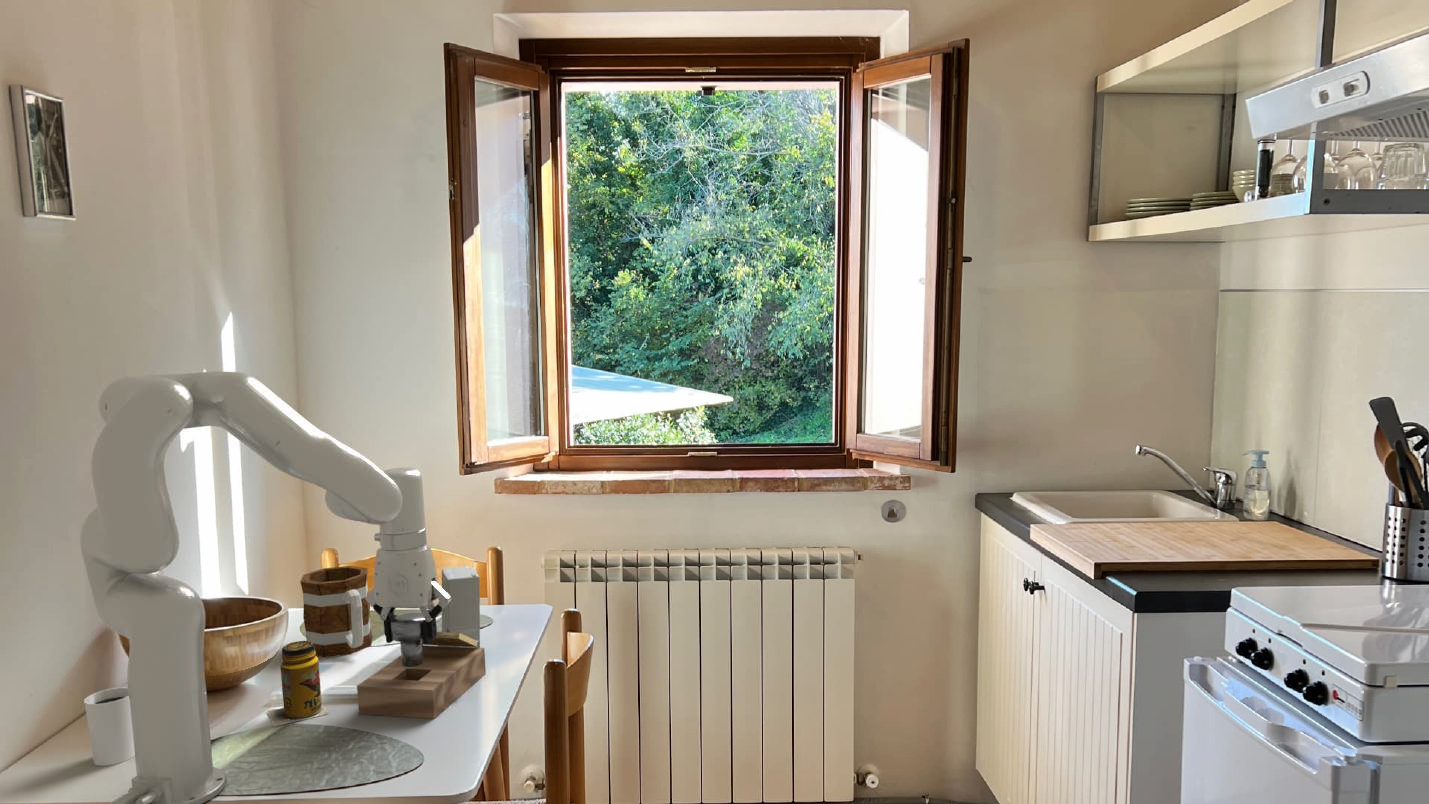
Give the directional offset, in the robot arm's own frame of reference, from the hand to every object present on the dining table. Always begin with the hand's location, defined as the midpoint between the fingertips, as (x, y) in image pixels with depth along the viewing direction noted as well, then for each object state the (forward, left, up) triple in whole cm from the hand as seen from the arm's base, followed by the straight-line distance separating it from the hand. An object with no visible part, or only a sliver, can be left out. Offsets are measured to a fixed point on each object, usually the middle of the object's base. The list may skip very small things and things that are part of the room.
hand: (411, 640), depth 170 cm
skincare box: (+27, +4, -11) cm, 29 cm away
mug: (+23, +28, -11) cm, 38 cm away
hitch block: (+4, 0, -11) cm, 12 cm away
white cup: (-26, +37, -11) cm, 47 cm away
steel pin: (0, 0, -4) cm, 4 cm away
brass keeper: (+10, 0, -4) cm, 11 cm away
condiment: (-7, +18, -11) cm, 23 cm away
